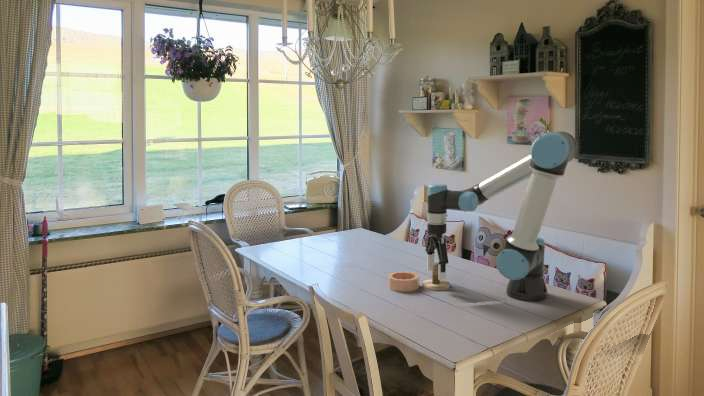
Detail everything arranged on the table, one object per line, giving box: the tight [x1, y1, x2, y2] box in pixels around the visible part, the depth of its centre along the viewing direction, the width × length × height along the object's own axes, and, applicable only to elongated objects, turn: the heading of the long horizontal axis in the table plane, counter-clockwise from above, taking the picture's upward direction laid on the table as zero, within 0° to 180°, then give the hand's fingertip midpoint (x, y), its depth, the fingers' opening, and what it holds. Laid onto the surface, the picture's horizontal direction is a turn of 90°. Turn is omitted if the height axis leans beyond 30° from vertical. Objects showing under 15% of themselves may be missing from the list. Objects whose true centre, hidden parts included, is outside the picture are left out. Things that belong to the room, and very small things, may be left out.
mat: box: [419, 282, 452, 292], centre depth 213 cm, size 10×10×1 cm
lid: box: [421, 262, 451, 292], centre depth 213 cm, size 11×11×9 cm
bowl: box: [387, 271, 420, 293], centre depth 213 cm, size 12×12×6 cm
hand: (436, 274), depth 213 cm, fingers open, 13 cm apart
